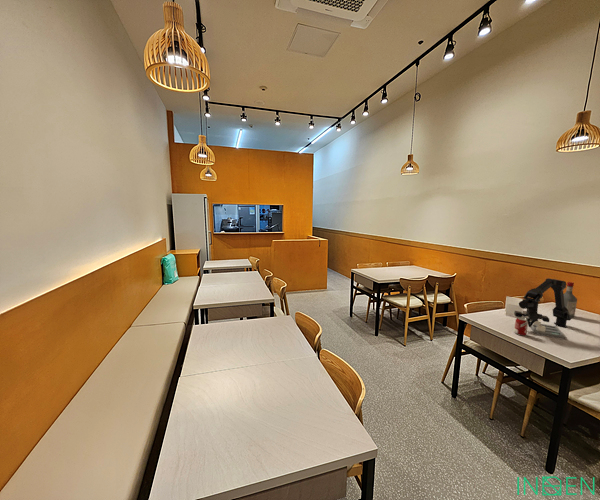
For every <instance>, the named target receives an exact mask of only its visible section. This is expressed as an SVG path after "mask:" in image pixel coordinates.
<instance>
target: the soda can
mask: <svg viewBox="0 0 600 500" xmlns="http://www.w3.org/2000/svg"><path fill="white" fill-rule="evenodd" d="M528 327H529V326H528V321H527V319H526V318H524V317H523V316H522V317H516V319H515V323H514V329H513V333H515V334H516V335H518V336H527V332H528Z"/></svg>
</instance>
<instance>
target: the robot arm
mask: <svg viewBox="0 0 600 500" xmlns="http://www.w3.org/2000/svg"><path fill="white" fill-rule="evenodd" d="M550 288H551V289H552V291H553V294H554V296H553V297H554V305H555V306H554V308H552V317H554V318H555V321H554V322H553V324H554V326H556V327H561V328H567V329H568V325H567V321H571V320H572V317H571V316H570V314H569V311H568V309H567V308H566V307H565V304H564V290H566V289H567V282H566V281H564V280H560V279H556V278H549V277H548V278H546V279H545V280H544V281H543V282H542V283H541V284H539V285H538V286H537V287H535V288H534V287H533V288H530V289H529V290H528V291H527V292H526V293H525V295H524V296H523V298H522V300H523V301H520V302H519V306H520V307H521V308H523V310H526V312H525V313H524V312H523V313H522V312H519V311H514V315H515V316H516V317H515V318H517V317H522V318H526V319H527V321H528V327H529V328H530V327H531V326H532V324H533V323H534V322H535V321H538V320H542V321H543V322H546V323H550V318H549V317H548V316H547V315H543V314H542V313H538V311H539V310H538V309H539V303H540V302H541V299H542V298H543V296H544V293H545V292H546V291H548V290H549V289H550Z"/></svg>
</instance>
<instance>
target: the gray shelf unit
mask: <svg viewBox="0 0 600 500" xmlns="http://www.w3.org/2000/svg"><path fill="white" fill-rule="evenodd" d="M541 325H542V326H545V327H546V329H545V332H542V331H537V330H536V329H537V325H533V324H532V326H531V327H529V328H530V330H532V332H533V334H535V335H541V336H545V337H550V338H556V339H561V340H566V336H565V334H564V333H563V332H562V331H561V330H560V328H559V326H556V325H549V324H544V323H541Z"/></svg>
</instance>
